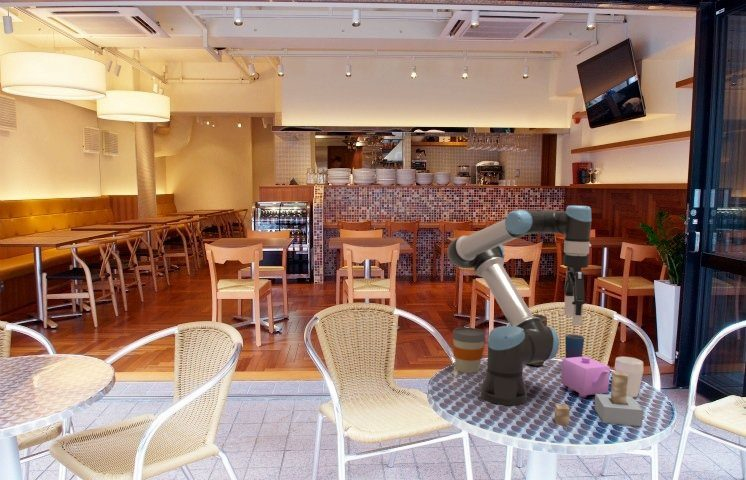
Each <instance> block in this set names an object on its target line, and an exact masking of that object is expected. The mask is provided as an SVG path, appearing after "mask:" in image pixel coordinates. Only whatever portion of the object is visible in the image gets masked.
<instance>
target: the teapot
mask: <svg viewBox="0 0 746 480" xmlns="http://www.w3.org/2000/svg"><path fill="white" fill-rule="evenodd" d="M610 368H611V367H610V366H609V365H608V364H605V363H602V362H601V361H598V360H595V359H594V358H591V357H590V356H585V355H584V356H582V357H573V358H566V357H565V358H564V357H563V358H562V363H561V378H560V379H561V380H560V384H562V385H563V386H565V387H567V391H568V390H569V392H576V393H578V397H580V398H585V399H586V398H587V396H591V395H594V396H595V394H606V393H607V394H608V393H609V387H610V386H609V384H610V373H611V371H610Z"/></svg>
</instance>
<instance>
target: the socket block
mask: <svg viewBox="0 0 746 480" xmlns="http://www.w3.org/2000/svg"><path fill="white" fill-rule="evenodd" d="M594 396H595V398H594V410H595V412H596V414H597V415H598V417H599V418H600V420H601V422H602V423H603V424H611V425H622V426H623V425H624V426H634V427H642V426H643V416H644V415H643V414H644V410H643V409H642V407H641V406H640V405H639V403H638V402H637V401H636V400H635V399H634V397H630V396H626V405H619V404H612V403H611V394H606V393H600V394H595V395H594Z"/></svg>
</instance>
